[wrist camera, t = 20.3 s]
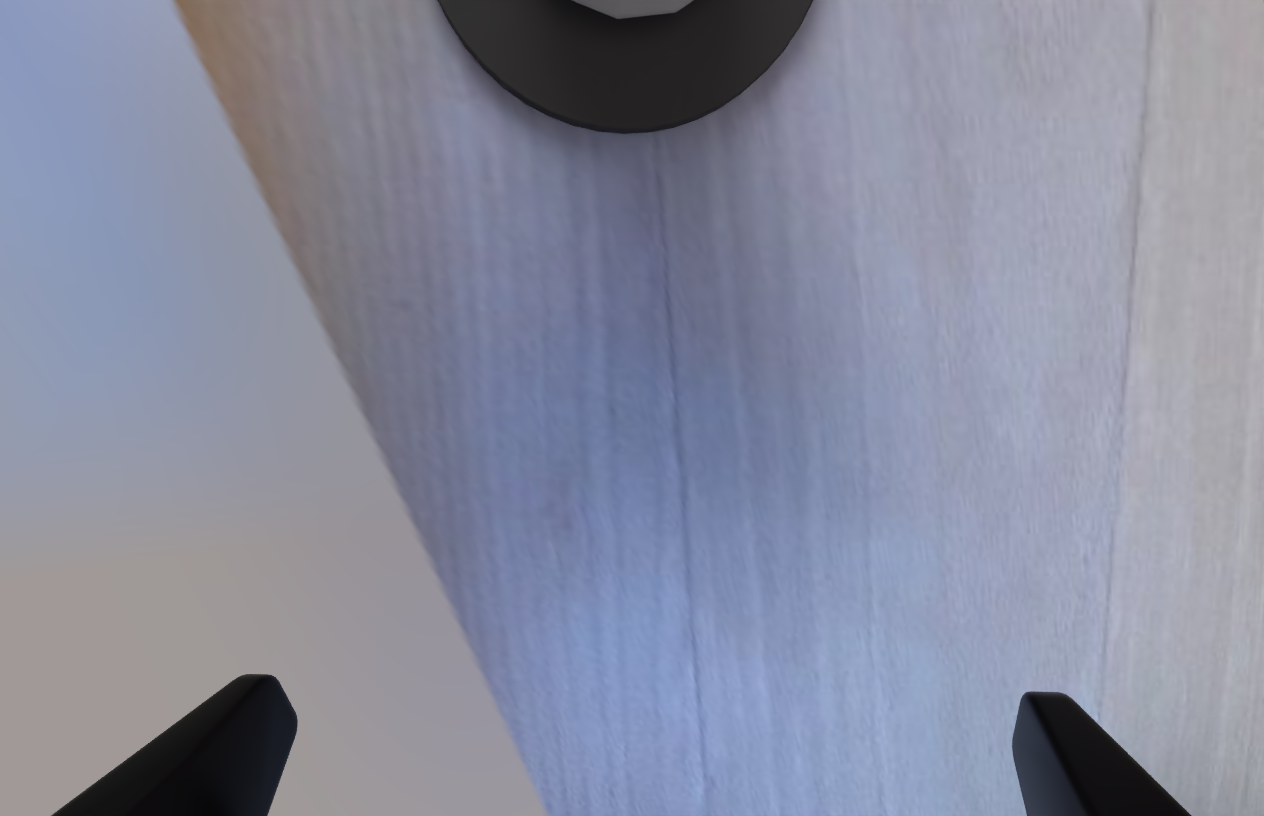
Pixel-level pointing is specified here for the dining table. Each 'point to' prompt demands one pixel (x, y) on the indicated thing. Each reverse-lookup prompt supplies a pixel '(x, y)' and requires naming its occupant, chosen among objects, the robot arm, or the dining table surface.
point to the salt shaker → (634, 7)
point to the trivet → (625, 56)
